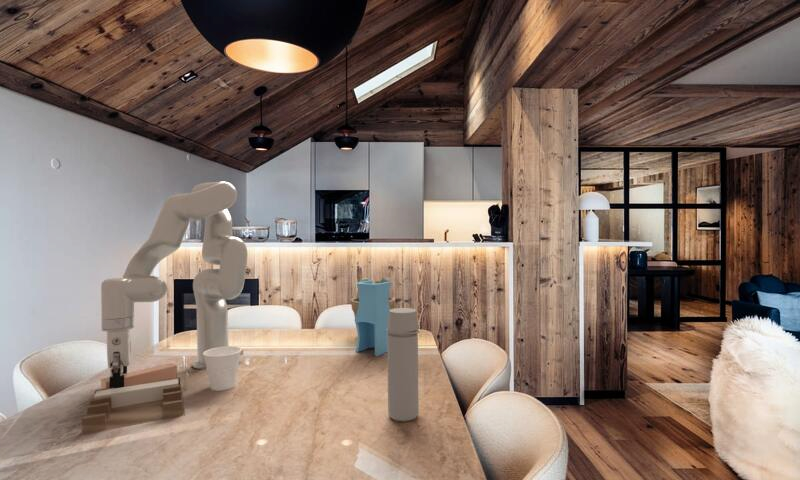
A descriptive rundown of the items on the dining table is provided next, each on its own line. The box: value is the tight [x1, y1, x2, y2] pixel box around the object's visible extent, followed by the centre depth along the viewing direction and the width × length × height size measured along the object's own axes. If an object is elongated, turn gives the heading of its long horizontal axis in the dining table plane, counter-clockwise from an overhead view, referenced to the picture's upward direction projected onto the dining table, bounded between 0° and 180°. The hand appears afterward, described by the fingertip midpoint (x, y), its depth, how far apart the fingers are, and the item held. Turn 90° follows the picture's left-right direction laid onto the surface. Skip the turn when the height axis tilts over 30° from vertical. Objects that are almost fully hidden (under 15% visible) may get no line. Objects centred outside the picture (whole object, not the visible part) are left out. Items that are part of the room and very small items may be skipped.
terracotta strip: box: [100, 362, 178, 389], centre depth 122 cm, size 18×4×5 cm, turn 140°
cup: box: [203, 345, 242, 392], centre depth 120 cm, size 10×10×11 cm
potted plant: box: [350, 276, 396, 317], centre depth 180 cm, size 18×19×25 cm
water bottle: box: [386, 307, 421, 423], centre depth 102 cm, size 9×8×25 cm
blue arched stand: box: [354, 279, 392, 357], centre depth 158 cm, size 10×10×25 cm
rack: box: [79, 377, 186, 436], centre depth 105 cm, size 20×20×4 cm
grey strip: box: [93, 379, 178, 408], centre depth 110 cm, size 18×4×4 cm, turn 118°
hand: (118, 385), depth 119 cm, fingers open, 9 cm apart
